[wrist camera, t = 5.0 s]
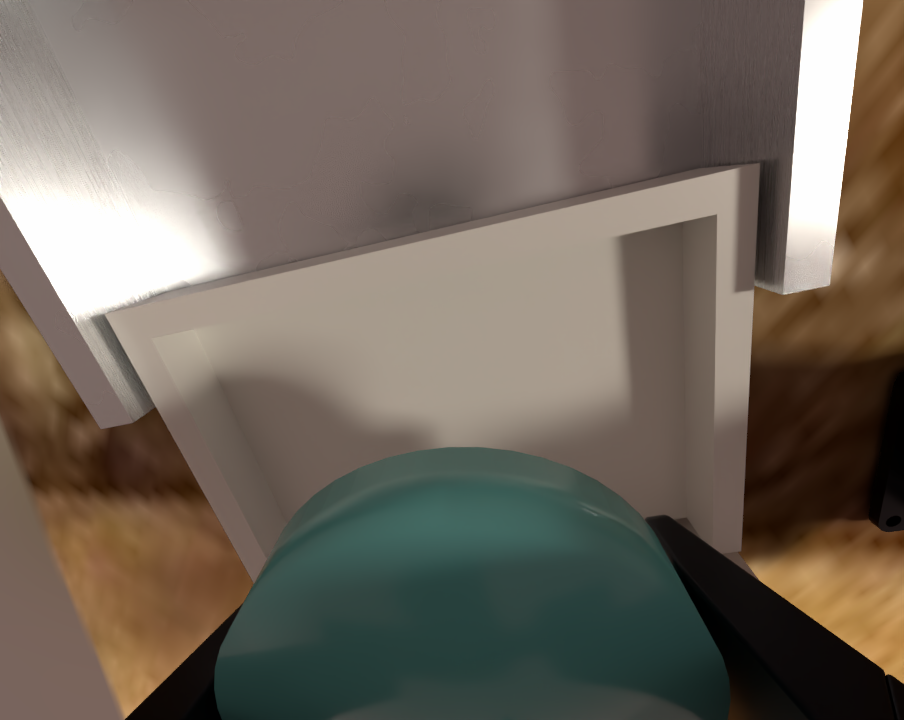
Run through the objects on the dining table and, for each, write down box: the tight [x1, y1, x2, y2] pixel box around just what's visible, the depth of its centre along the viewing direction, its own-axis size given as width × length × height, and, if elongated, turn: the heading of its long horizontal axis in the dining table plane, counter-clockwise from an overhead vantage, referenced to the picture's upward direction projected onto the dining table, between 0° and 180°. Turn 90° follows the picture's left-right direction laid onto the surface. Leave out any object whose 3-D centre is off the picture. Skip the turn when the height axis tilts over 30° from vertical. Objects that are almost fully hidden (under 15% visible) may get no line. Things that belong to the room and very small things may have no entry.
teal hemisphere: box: [214, 447, 731, 720], centre depth 7 cm, size 7×7×2 cm
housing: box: [0, 0, 863, 429], centre depth 9 cm, size 12×17×4 cm
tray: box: [105, 163, 760, 583], centre depth 12 cm, size 12×15×4 cm
